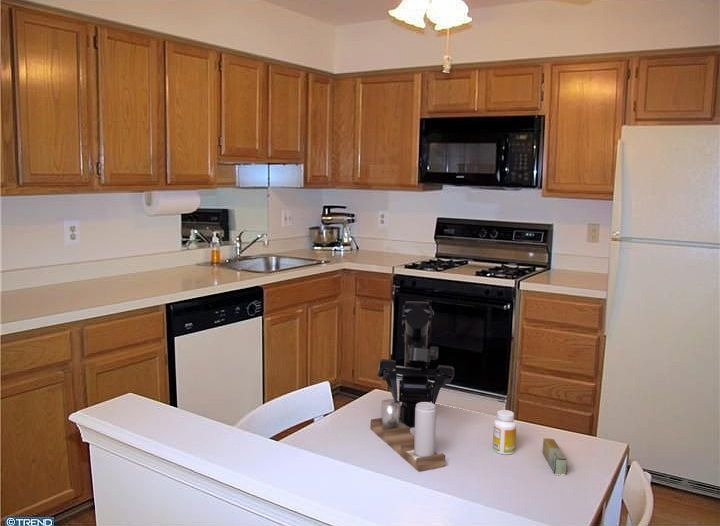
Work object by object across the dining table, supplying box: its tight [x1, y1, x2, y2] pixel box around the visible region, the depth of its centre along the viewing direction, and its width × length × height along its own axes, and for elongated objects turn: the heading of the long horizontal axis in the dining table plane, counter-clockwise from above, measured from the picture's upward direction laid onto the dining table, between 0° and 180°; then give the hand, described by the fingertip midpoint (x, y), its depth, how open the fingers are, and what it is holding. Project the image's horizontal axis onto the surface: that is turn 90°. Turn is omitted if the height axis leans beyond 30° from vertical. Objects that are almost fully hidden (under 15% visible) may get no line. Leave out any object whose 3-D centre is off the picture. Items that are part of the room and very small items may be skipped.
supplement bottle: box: [492, 409, 517, 456], centre depth 155 cm, size 5×5×10 cm
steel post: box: [381, 398, 401, 430], centre depth 164 cm, size 5×5×7 cm
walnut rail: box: [370, 417, 446, 473], centre depth 157 cm, size 26×7×3 cm, turn 24°
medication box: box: [541, 437, 568, 476], centre depth 149 cm, size 12×3×4 cm, turn 178°
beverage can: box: [414, 402, 437, 457], centre depth 148 cm, size 5×5×12 cm
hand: (414, 404), depth 155 cm, fingers open, 9 cm apart
